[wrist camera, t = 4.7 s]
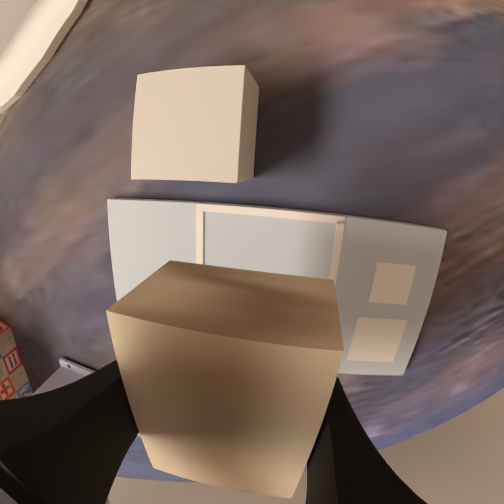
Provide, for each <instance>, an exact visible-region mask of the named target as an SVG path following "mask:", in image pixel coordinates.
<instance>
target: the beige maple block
mask: <svg viewBox="0 0 504 504" xmlns="http://www.w3.org/2000/svg"><path fill="white" fill-rule="evenodd" d="M258 96H259V86H258V85H257V83H256V81H255V80H254V78H253V77H252V75H251V74H250V72H249V71H248V69H247V68H246V66H245V65H235V66H210V67H196V68H185V69H175V70H167V71H159V72H152V73H146V74H139V75H138V76H137V85H136V94H135V105H134V118H133V134H132V158H131V179H157V180H190V181H211V182H229V183H239V182H242V181H245V180H248V179H251V178H253V174H254V158H255V143H256V127H257V112H258Z"/></svg>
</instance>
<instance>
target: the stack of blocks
mask: <svg viewBox="0 0 504 504" xmlns="http://www.w3.org/2000/svg"><path fill="white" fill-rule="evenodd" d="M33 393H34V391H33V389H32V386H31V384H30V382H29V380H28V377H27V374H26V372H25V369H24V367H23V363H22V361H21V358H20V355H19V352H18V349H17V346H16V343H15V340H14V337H13V333H12V330H11V327H10V326H9V325H7V324H6V323H4V322H3V321H1V320H0V400H8V399H16V398H22V397H28V396H31V395H32V394H33Z"/></svg>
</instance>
